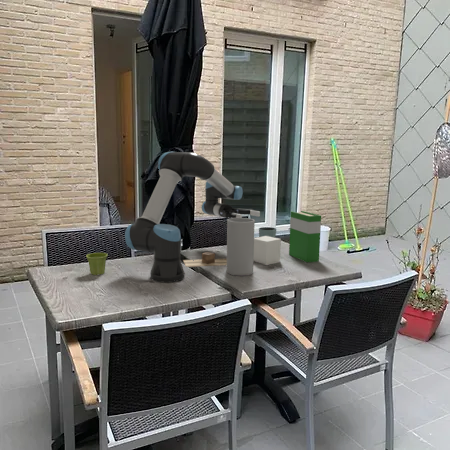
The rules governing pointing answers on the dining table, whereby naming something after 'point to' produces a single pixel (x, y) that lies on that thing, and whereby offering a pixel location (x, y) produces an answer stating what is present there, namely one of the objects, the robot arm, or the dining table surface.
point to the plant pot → (97, 263)
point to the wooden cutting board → (199, 263)
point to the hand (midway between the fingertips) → (250, 215)
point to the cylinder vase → (240, 246)
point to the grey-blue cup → (267, 232)
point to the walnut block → (208, 257)
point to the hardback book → (305, 236)
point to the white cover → (267, 250)
